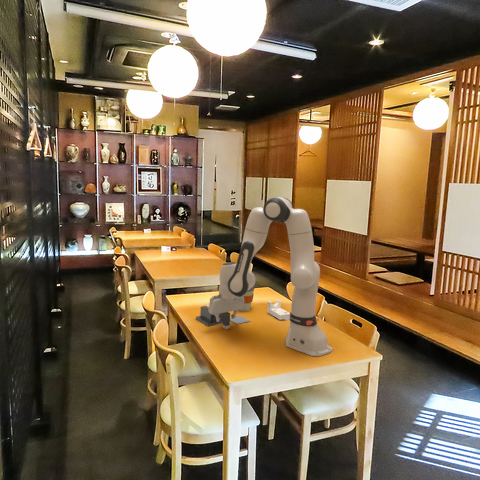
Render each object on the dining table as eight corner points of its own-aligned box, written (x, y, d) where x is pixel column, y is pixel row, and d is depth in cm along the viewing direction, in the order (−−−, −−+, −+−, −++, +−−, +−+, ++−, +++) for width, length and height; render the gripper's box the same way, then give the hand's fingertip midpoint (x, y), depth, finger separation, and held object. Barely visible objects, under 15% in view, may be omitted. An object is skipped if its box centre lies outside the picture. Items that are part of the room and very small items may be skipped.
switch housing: (230, 321, 205) (230, 309, 204) (208, 326, 197) (208, 313, 196) (217, 314, 215) (217, 302, 214) (195, 319, 206) (196, 306, 205)
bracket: (267, 313, 222) (268, 301, 221) (277, 312, 225) (278, 299, 224) (279, 321, 210) (280, 308, 209) (290, 319, 214) (291, 306, 213)
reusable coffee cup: (228, 309, 224) (229, 284, 222) (237, 304, 235) (238, 280, 233) (247, 313, 219) (249, 288, 217) (256, 307, 230) (257, 283, 228)
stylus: (229, 328, 196) (230, 313, 195) (225, 329, 195) (226, 314, 193) (226, 326, 198) (227, 311, 197) (222, 327, 197) (223, 312, 195)
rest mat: (250, 321, 207) (250, 320, 207) (237, 324, 201) (237, 323, 201) (239, 316, 214) (239, 315, 214) (226, 319, 208) (226, 318, 208)
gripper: (213, 298, 185) (212, 325, 187) (246, 292, 198) (245, 318, 200) (206, 294, 190) (205, 321, 192) (239, 289, 202) (237, 314, 205)
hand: (225, 319), depth 196 cm, fingers open, 8 cm apart
